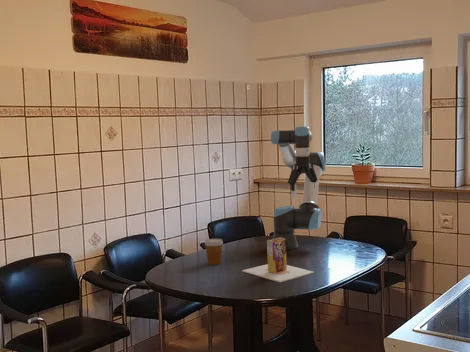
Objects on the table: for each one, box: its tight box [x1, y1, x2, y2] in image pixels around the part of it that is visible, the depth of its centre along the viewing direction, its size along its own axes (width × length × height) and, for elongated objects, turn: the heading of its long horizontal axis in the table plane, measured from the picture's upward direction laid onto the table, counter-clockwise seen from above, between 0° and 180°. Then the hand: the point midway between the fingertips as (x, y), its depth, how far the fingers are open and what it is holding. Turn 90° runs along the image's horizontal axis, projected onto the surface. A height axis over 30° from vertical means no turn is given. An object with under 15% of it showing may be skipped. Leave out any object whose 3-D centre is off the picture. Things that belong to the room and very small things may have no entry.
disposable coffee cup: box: [204, 238, 224, 266], centre depth 280 cm, size 10×10×12 cm
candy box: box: [266, 237, 288, 273], centre depth 260 cm, size 9×4×15 cm, turn 130°
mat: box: [242, 263, 315, 283], centre depth 261 cm, size 26×22×1 cm
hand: (303, 195), depth 292 cm, fingers open, 13 cm apart
